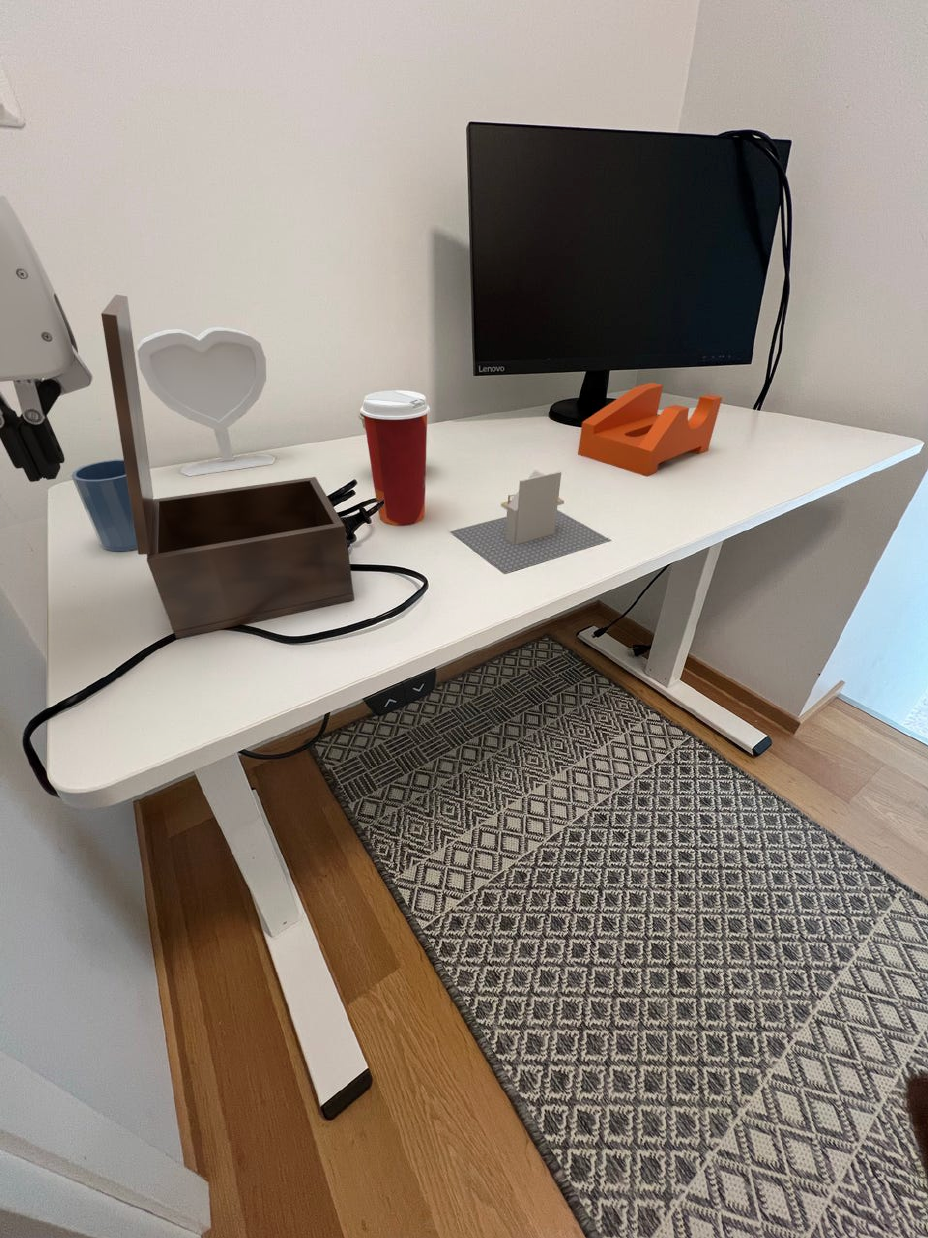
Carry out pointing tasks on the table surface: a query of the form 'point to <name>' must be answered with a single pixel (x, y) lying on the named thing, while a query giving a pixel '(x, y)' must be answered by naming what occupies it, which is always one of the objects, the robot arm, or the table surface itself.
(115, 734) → the table surface
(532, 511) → the architectural model
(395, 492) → the paper cup
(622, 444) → the orange notched block
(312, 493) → the box
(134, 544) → the cup
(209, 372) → the heart sculpture
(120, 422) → the box lid
